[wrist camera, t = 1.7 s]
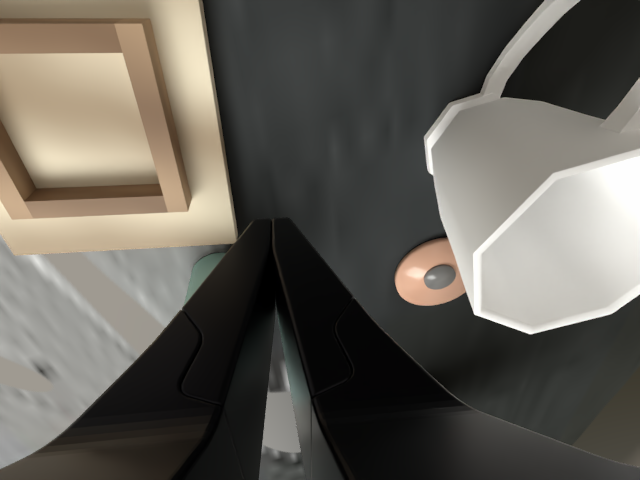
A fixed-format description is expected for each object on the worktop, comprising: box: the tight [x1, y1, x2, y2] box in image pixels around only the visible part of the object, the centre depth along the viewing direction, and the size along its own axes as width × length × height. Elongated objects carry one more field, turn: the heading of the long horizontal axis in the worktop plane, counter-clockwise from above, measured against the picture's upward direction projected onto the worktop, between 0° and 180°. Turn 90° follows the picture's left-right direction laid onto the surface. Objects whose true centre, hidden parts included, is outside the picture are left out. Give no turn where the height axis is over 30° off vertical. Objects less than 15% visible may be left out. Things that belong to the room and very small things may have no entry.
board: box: [0, 0, 238, 255], centre depth 14 cm, size 12×10×2 cm
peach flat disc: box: [394, 237, 466, 306], centre depth 22 cm, size 5×5×1 cm
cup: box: [424, 0, 640, 334], centre depth 13 cm, size 7×10×8 cm
